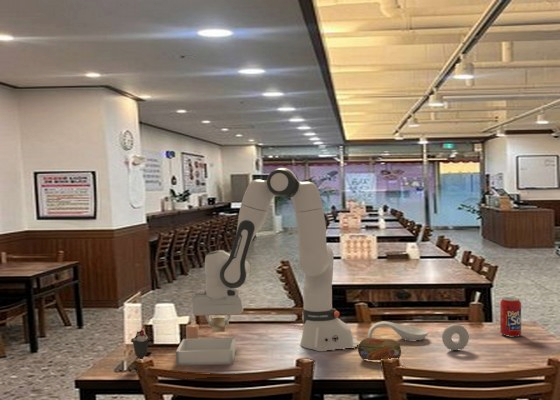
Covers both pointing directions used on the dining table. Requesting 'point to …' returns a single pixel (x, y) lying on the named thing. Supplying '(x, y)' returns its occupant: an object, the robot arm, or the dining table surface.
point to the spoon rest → (401, 330)
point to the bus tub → (206, 351)
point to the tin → (379, 349)
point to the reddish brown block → (192, 331)
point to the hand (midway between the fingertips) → (218, 325)
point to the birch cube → (218, 324)
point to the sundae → (140, 344)
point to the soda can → (510, 316)
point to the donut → (448, 335)
